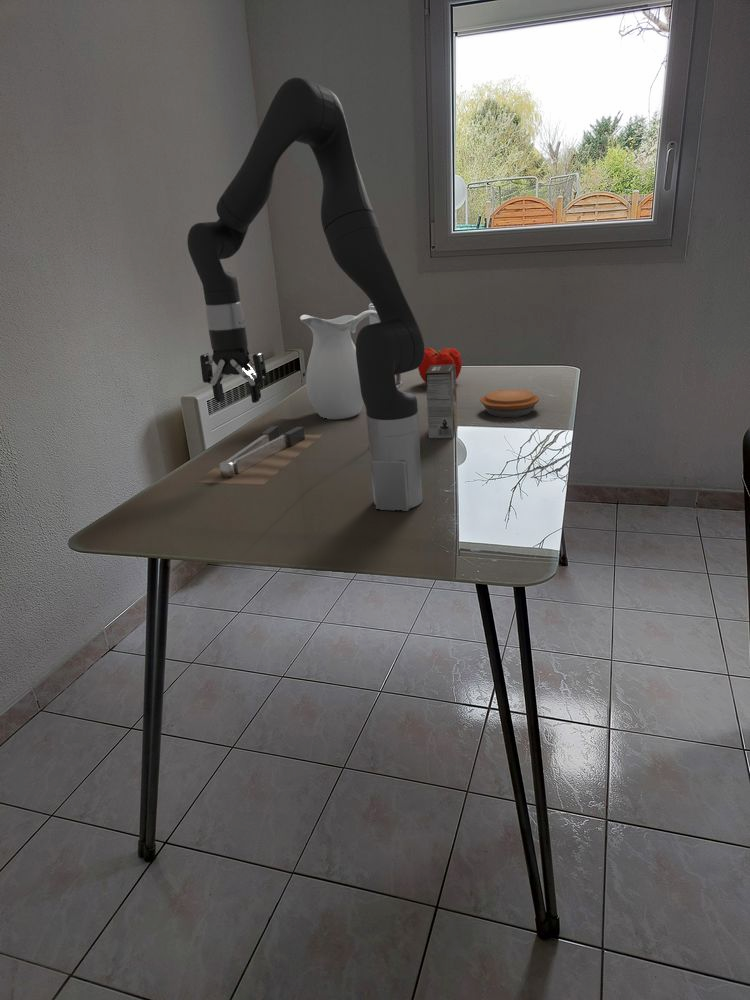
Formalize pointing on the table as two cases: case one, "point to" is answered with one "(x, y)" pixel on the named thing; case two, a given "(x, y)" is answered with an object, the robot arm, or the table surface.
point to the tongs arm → (269, 449)
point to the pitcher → (334, 366)
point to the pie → (509, 402)
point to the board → (261, 466)
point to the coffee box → (441, 401)
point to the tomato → (440, 360)
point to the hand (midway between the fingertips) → (238, 401)
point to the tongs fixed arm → (266, 437)
